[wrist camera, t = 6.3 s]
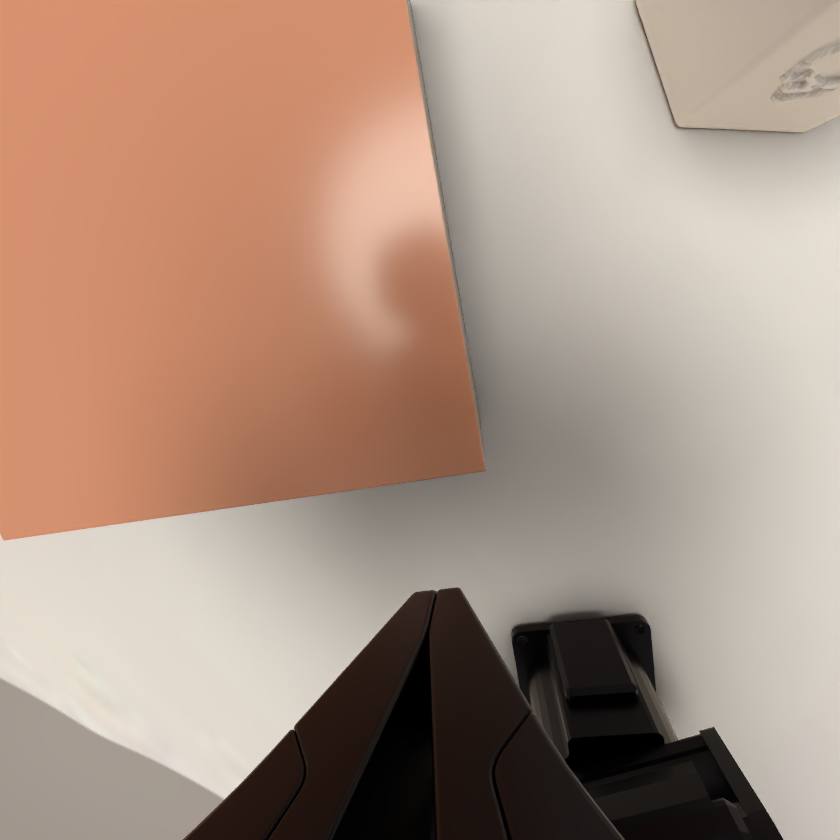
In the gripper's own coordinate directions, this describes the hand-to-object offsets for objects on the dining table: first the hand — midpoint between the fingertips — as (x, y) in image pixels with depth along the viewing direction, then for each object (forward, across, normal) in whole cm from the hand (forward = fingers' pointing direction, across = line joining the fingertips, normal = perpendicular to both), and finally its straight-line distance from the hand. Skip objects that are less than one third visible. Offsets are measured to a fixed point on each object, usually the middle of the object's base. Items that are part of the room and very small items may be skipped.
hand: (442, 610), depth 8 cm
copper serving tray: (+8, +8, -8) cm, 14 cm away
